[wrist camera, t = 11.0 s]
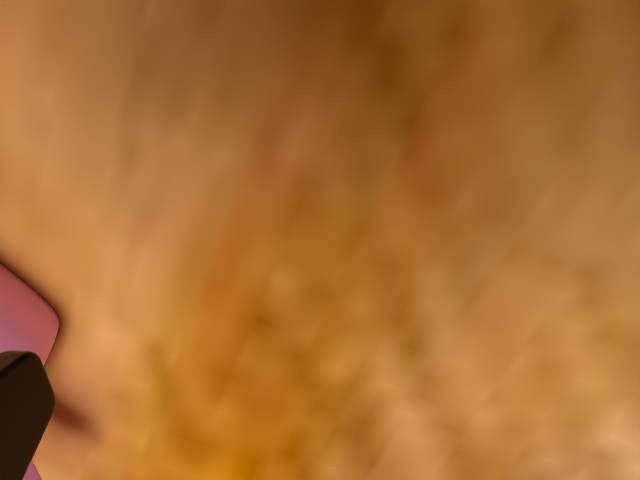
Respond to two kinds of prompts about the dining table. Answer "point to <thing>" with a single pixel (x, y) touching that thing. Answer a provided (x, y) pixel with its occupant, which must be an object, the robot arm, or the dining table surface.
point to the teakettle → (25, 326)
